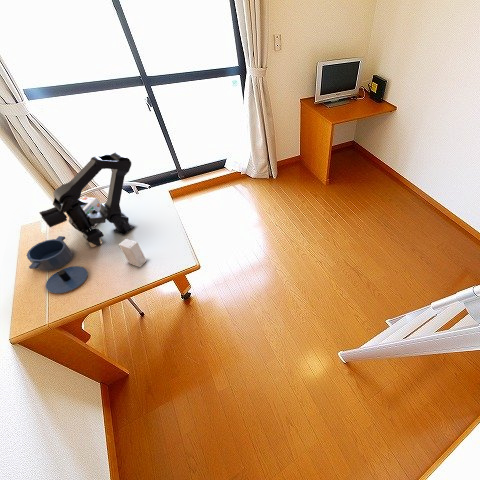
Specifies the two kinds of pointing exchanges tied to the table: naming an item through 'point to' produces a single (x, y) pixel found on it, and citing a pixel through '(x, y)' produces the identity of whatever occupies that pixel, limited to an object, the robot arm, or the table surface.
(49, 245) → the pot
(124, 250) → the cosmetic box
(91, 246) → the block
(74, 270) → the lid
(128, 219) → the robot arm
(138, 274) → the table surface
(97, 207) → the light bulb box
